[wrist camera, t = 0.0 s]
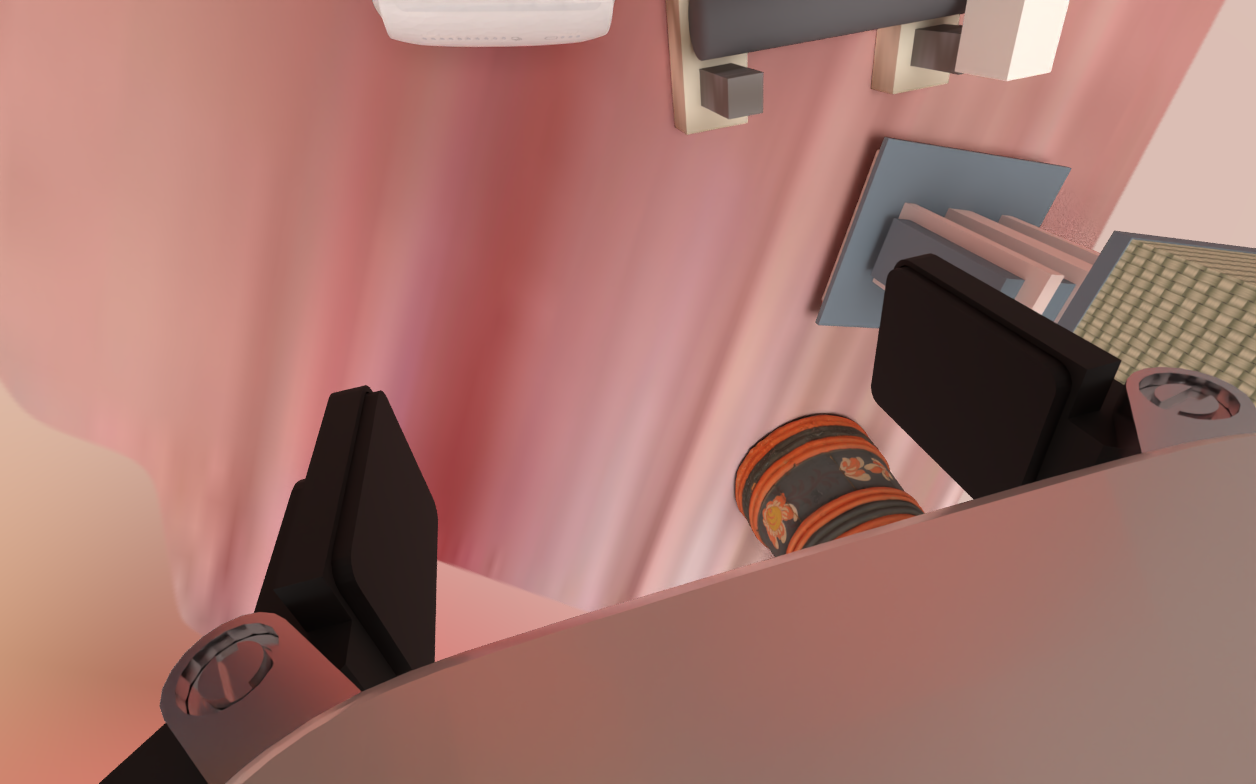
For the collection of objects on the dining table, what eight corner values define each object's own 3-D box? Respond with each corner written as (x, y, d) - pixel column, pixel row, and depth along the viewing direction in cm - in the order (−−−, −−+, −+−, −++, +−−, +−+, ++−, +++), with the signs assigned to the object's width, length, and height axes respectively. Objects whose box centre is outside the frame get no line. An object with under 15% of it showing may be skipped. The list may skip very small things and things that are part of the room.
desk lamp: (795, 310, 49) (1180, 680, 23) (858, 129, 42) (1528, 374, 16) (969, 320, 55) (1441, 630, 29) (1052, 161, 47) (1793, 384, 21)
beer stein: (829, 542, 69) (944, 711, 53) (712, 556, 65) (796, 743, 49) (885, 408, 59) (1048, 568, 43) (749, 416, 55) (872, 595, 39)
